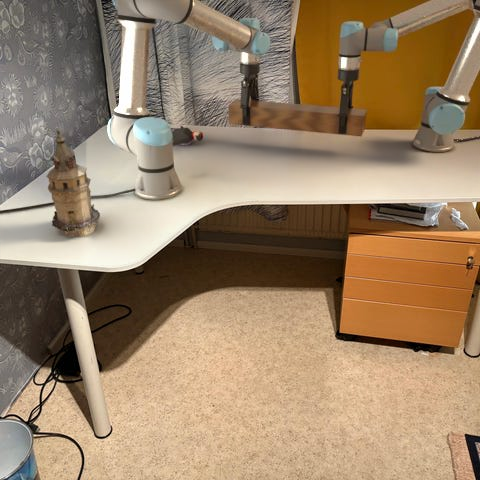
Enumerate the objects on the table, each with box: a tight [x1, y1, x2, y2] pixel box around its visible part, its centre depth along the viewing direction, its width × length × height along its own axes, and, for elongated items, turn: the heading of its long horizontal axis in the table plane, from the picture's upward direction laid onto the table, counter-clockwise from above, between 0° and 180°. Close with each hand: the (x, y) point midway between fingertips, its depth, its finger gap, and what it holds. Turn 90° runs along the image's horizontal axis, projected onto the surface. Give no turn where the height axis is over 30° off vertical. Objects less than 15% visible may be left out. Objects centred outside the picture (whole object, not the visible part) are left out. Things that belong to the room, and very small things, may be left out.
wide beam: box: [228, 98, 368, 138], centre depth 206 cm, size 52×9×8 cm, turn 71°
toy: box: [171, 125, 204, 147], centre depth 219 cm, size 26×6×30 cm
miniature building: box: [46, 129, 101, 237], centre depth 148 cm, size 13×14×30 cm
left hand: (249, 120), depth 213 cm, fingers closed on wide beam, 9 cm apart
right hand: (344, 129), depth 202 cm, fingers closed on wide beam, 9 cm apart
